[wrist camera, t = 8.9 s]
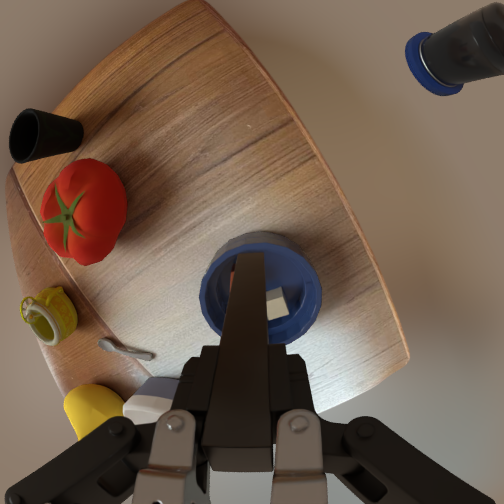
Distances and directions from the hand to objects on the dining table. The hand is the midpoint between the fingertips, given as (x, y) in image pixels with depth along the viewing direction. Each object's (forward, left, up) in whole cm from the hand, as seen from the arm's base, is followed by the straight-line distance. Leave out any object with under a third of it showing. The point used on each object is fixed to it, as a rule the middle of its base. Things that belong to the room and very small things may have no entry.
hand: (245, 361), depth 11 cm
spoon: (+28, +23, -30) cm, 47 cm away
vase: (+41, +41, -30) cm, 65 cm away
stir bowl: (0, +10, -29) cm, 31 cm away
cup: (+29, -18, -30) cm, 45 cm away
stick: (0, 0, -11) cm, 11 cm away
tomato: (+25, -5, -30) cm, 39 cm away
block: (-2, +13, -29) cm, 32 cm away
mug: (+41, +13, -30) cm, 52 cm away
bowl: (+21, +36, -30) cm, 51 cm away
